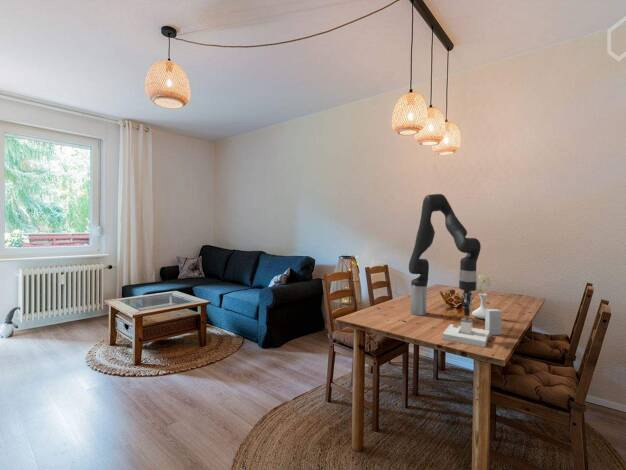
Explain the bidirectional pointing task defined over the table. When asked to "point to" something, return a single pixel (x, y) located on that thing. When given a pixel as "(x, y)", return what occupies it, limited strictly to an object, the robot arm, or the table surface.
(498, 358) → the table surface
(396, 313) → the table surface
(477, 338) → the socket plate
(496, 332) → the skincare box
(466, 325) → the plug
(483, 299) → the flower in vase
